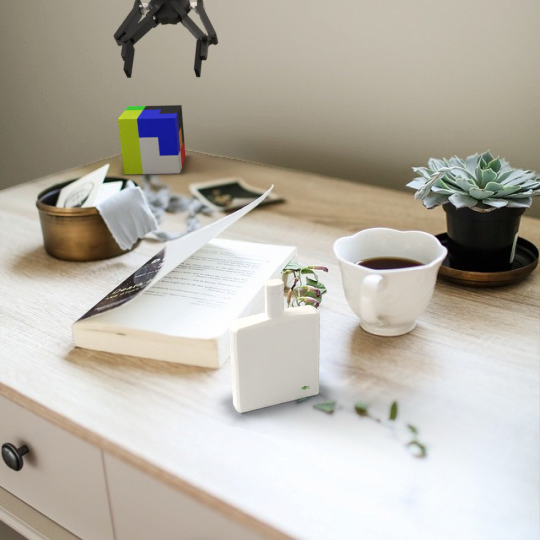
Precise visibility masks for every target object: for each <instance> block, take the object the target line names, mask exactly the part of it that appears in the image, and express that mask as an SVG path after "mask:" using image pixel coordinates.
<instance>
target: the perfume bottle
mask: <svg viewBox="0 0 540 540" xmlns="http://www.w3.org/2000/svg"><path fill="white" fill-rule="evenodd" d="M263 285H264V287H263V289H264V290H263V291H264V312H262V313H261V312H260V313H256V314H252V315H248V316H245V317H240V318H236V319H232V320H230V321H229V323H228V338H229V349H230V350H229V351H230V352H229V353H230V370H231V388H232V404H233V405H232V406H233V407H234V409H235V411H237V412H238V413H240V414H243V413H247V412H250V411H251V412H252V411H255V410H259V409H260V410H261V409H263V408H268V407H271V406H276V405H279V404H285V403H289V402H293V401H296V400H301V399H304V398H309V397H313V396H317V395H319V393H320V347H321V346H320V343H321V340H320V338H321V314H320V311H319V310H318V309H317V308H316V307H315V306H313V305H311V304H305V305H299V306H294V307H288V308H285V282H284V280H282V279H281V278H272V279H271V278H270V279H267V280H265V281H264V283H263ZM304 386H309V387H310V389H306V390H302V391H299V390H300V389H301V388H302V387H304Z"/></svg>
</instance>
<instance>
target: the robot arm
mask: <svg viewBox="0 0 540 540" xmlns="http://www.w3.org/2000/svg"><path fill="white" fill-rule="evenodd" d="M205 7H206V6H205V3H204V0H196V1H191V0H149V2H142V1H141V0H134V2H133V6H132V9H131V10H130V11H129V13H128V14H127V16H126V17H125V18H124V20H123V21H122V22H121V24H120V26H119V27H118V28H117V30H116V31H115V32H114V34H113V38H114V41H115V43H116V45H117V46H118V47H121V51H120V56H121V58H122V61H123V69H122V71H123V72H124V74H125V76H126V78H127V79H131V78H132V74H133V67H134V59H135V52H136V48H135V44H136V43H138V42H139V41H140V40H141V39H142V38H144V36H145V35H147V34H148V33H149V32H150V31H151V30H152V29H156V28H157V27H158V26H159V25H161V26H166V25H173V26H174V25H176V26H177V25H178V24H179V23H180V24H181V25H182V26H183V27H184V28H185V29H187V30H188V32H189V33H190V34H191V35H192V36H193V37H194V38H195V39H196V42H195V43H196V44H195V51H194V52H195V53H194V63H193V71H194V74H195V77H196V78H201V75H202V74H201V73H202V64H203V61H207V60H208V56H209V47H210V46H212V45H213V46H217V45H218V44H219V39H218V34H217V31H216V30H215V28H214V26H213V24H212V22H211V20H210V18H209V16H208V14H207V12H206V8H205ZM191 11H194V13H195V14H196V15H198V16H199V20H200V22H201V24H202V25H203V27H204V30H205V32H206V33H205V32H204V31H203V30H202V29H201V27H199V26H198V25H197V24H196V23H195V21H194V20H193V19H192V18H191V17H190V16H189V14H190V12H191ZM143 16H144V17H143Z"/></svg>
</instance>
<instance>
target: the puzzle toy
mask: <svg viewBox="0 0 540 540" xmlns="http://www.w3.org/2000/svg"><path fill="white" fill-rule="evenodd" d="M117 126H118V134H119V141H120V142H119V144H120V150H121V158H122V168H123V174H124V175H162V174H163V175H164V174H165V175H167V174H168V175H169V174H170V175H171V174H181V172H182V169H183V166H184V162H185V160H186V155H187V154H186V144H185V142H186V141H185V131H184V117H183V105H182V104H175V105H174V104H173V105H169V104H167V105H129V106H126V108H125V110H124V111H123V112H122V113H121V115H119V117H118V118H117Z"/></svg>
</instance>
